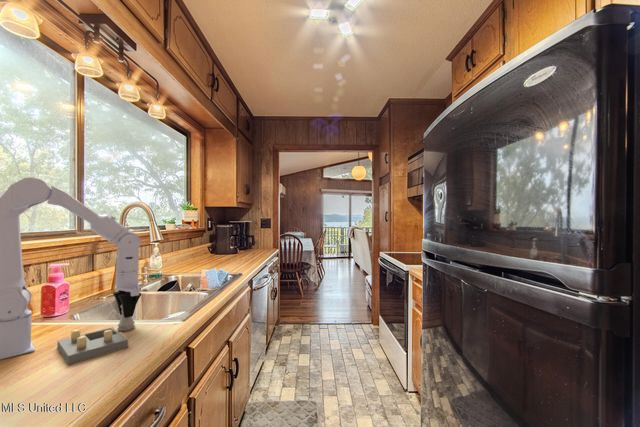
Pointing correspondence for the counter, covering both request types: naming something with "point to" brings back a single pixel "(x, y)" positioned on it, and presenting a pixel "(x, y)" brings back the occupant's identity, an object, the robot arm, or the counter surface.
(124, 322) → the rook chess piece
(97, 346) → the pin board
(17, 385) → the counter surface
